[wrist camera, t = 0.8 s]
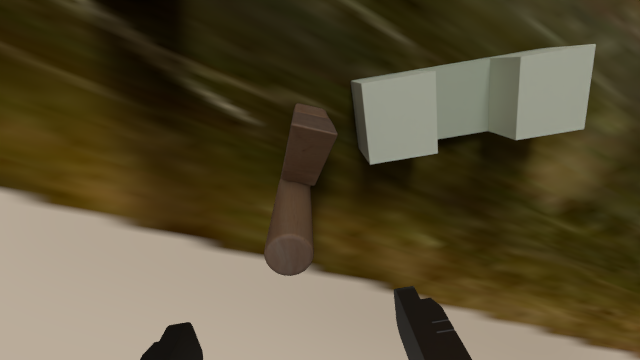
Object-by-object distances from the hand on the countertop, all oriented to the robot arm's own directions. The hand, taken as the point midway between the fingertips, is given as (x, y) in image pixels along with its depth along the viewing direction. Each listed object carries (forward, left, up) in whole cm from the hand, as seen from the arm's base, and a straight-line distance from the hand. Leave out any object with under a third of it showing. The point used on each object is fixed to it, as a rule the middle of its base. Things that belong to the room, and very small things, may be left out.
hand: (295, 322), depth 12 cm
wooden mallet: (0, 0, -28) cm, 28 cm away
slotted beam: (-3, +18, -27) cm, 33 cm away
